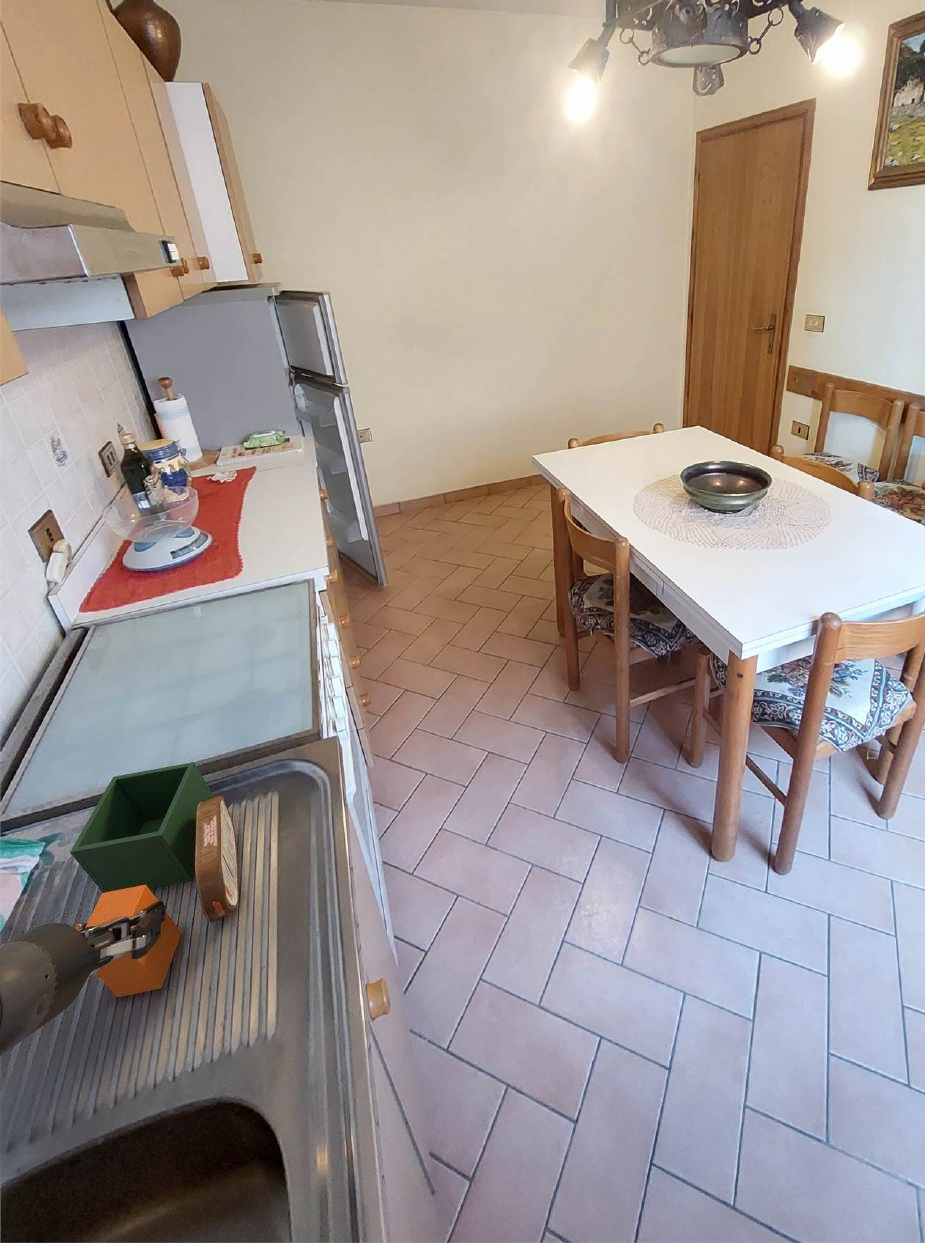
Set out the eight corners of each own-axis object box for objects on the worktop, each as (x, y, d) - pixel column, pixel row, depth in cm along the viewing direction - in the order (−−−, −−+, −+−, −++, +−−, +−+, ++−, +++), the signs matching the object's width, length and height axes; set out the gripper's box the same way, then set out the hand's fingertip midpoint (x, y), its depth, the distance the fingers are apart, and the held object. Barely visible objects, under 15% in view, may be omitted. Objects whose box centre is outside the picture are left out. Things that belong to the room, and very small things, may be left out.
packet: (117, 997, 63) (73, 950, 58) (141, 941, 68) (102, 893, 63) (161, 988, 63) (121, 941, 58) (181, 932, 68) (145, 884, 63)
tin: (215, 830, 79) (191, 790, 75) (240, 818, 80) (218, 779, 76) (216, 939, 67) (187, 899, 63) (245, 924, 68) (219, 883, 64)
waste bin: (106, 897, 72) (69, 852, 68) (144, 820, 81) (113, 776, 77) (192, 880, 73) (161, 835, 69) (219, 806, 82) (194, 761, 77)
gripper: (98, 925, 49) (203, 865, 66) (-85, 962, 48) (69, 891, 64) (94, 1030, 47) (203, 941, 64) (-97, 1072, 46) (65, 970, 62)
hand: (135, 916), depth 64 cm, fingers closed on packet, 4 cm apart
